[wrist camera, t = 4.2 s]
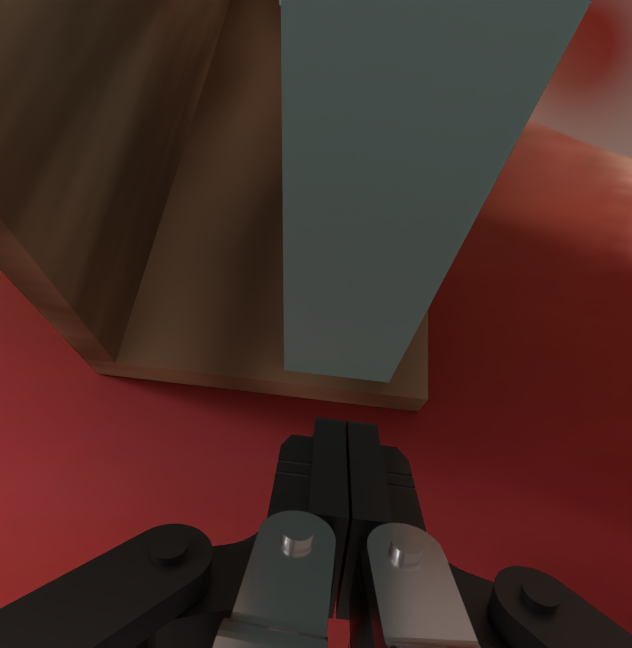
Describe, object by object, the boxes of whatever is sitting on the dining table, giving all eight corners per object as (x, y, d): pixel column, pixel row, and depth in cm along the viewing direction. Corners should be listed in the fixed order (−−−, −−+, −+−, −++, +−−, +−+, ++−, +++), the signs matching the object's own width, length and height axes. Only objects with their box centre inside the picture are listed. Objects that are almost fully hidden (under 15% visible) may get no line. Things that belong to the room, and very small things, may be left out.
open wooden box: (96, 373, 20) (-257, -7, 7) (221, -2, 32) (178, -397, 19) (418, 411, 20) (666, 103, 7) (422, 22, 32) (515, -357, 19)
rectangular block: (282, 369, 19) (276, -43, 6) (313, 158, 24) (344, -302, 11) (390, 382, 19) (598, -5, 6) (398, 168, 24) (521, -281, 11)
